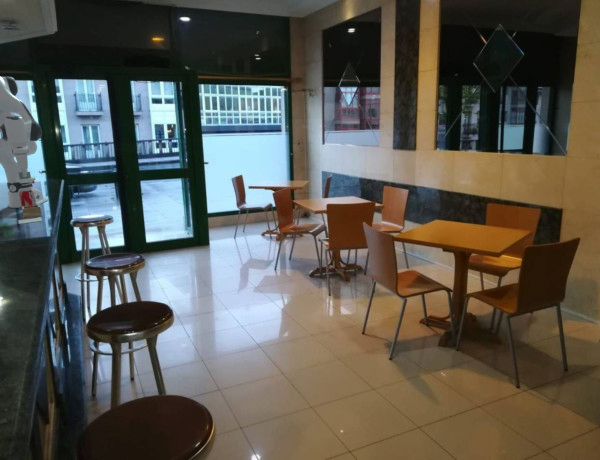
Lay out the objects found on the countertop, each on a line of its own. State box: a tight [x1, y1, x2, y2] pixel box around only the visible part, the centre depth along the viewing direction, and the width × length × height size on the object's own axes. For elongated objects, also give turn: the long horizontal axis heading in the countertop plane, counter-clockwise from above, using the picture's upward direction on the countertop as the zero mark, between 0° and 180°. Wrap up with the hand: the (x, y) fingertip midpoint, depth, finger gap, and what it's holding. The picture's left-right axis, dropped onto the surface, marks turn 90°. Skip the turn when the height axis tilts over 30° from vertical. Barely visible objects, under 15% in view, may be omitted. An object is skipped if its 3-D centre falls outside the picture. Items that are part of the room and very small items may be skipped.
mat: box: [17, 216, 43, 225], centre depth 234 cm, size 10×10×1 cm
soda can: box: [19, 189, 36, 208], centre depth 256 cm, size 7×7×12 cm
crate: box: [21, 204, 43, 219], centre depth 244 cm, size 8×8×5 cm
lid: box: [16, 171, 36, 183], centre depth 240 cm, size 8×8×5 cm
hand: (25, 176), depth 240 cm, fingers closed on lid, 2 cm apart
